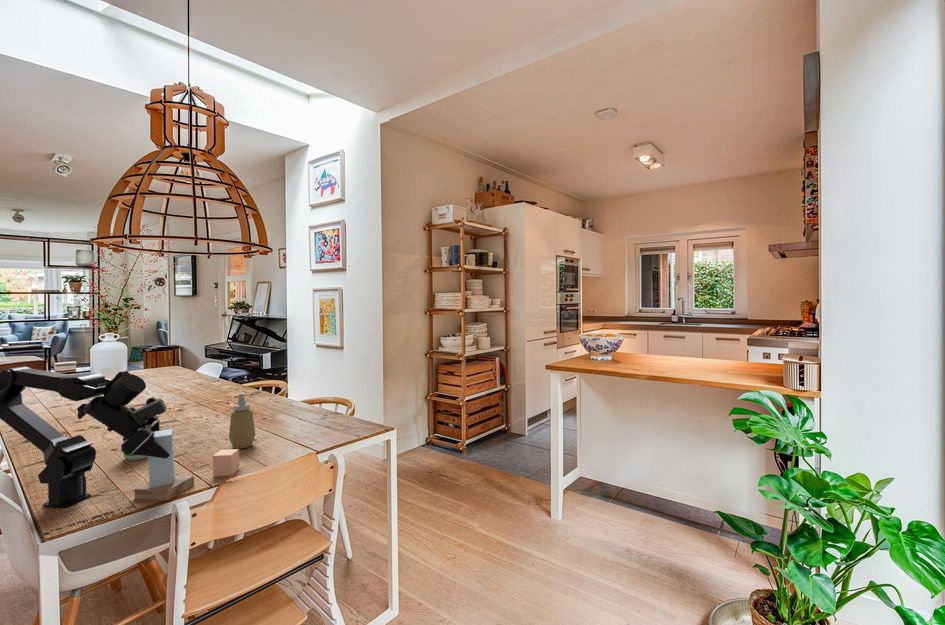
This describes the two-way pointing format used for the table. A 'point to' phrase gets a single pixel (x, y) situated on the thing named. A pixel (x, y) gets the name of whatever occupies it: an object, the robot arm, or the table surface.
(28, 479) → the table surface
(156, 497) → the walnut slab
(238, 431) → the squeeze bottle
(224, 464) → the terracotta block
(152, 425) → the robot arm
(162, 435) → the blue pillar
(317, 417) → the table surface
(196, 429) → the table surface
